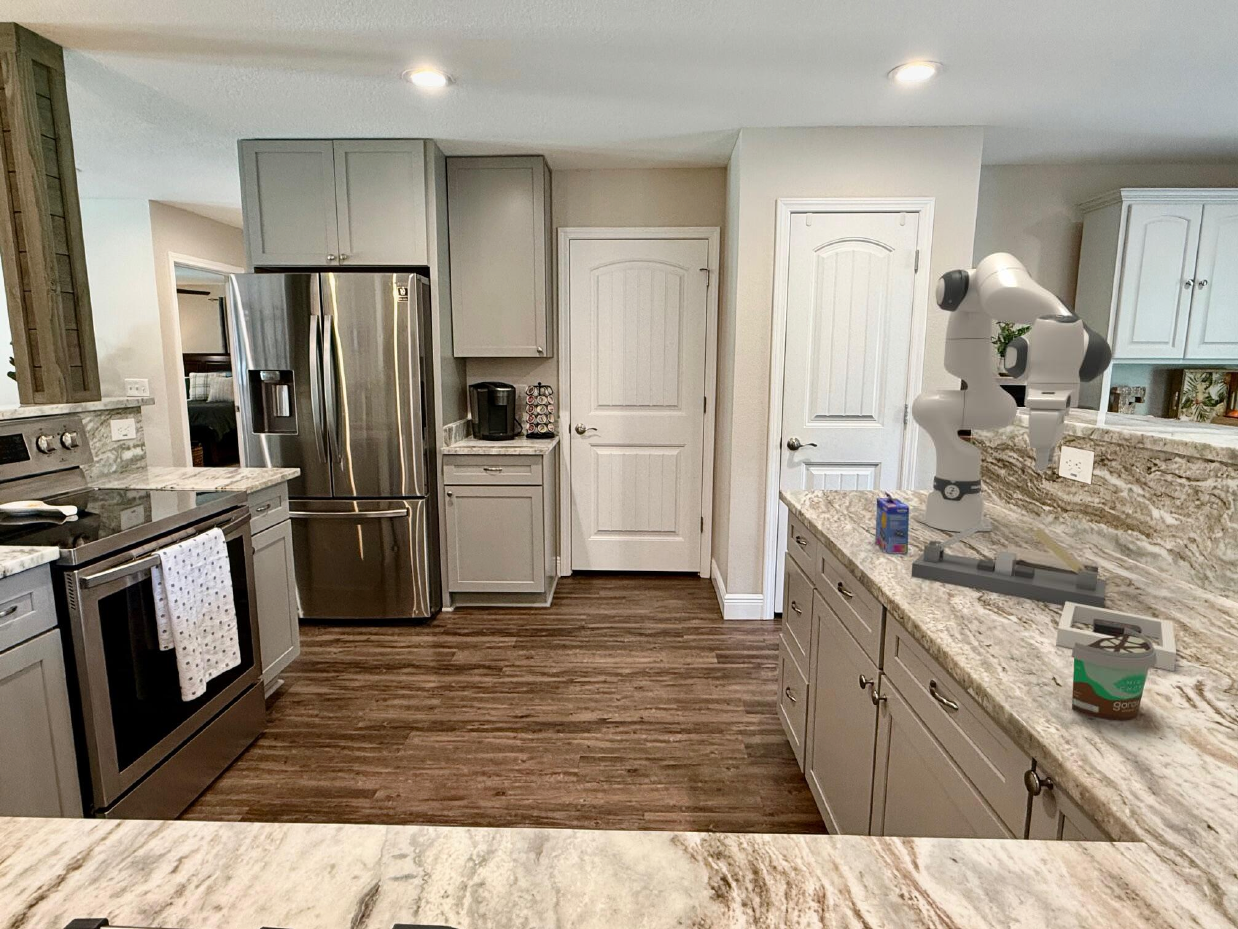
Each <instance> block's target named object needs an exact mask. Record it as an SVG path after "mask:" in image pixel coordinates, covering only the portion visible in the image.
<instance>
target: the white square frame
mask: <svg viewBox="0 0 1238 929" xmlns="http://www.w3.org/2000/svg"><path fill="white" fill-rule="evenodd" d="M1094 619H1101V620H1107V621H1113V622H1119V623H1125V624H1131V625H1137V626H1139V627H1140V628H1141V630H1142V633H1141V634H1142V635H1144V636H1145V637H1149V638H1154V639H1158V645H1155V644H1153V647H1154V648H1155V651H1156V658H1157V663H1156V665H1155V666H1153V667H1152V668H1157V669H1162V670H1167V671H1170V672H1174V671H1175V666H1176V665H1175V664H1176V658H1177V647H1176V641H1175V640H1176V639H1175V633H1174V623H1173V621H1172V620H1167V619H1162V618H1155V617H1150V616H1146V615H1140V614H1136V613H1135V614H1134V613H1130V612H1125V611H1119V610H1113V609H1108V608H1104V607H1103V608H1098V607H1093V606H1088V605H1082V604H1077V603H1072V602H1067V601H1066V602H1065V606H1064V605H1063V608H1062V614H1061V616H1060V620H1059V623H1058V626H1057V633H1056V646H1060V647H1064V648H1069V649H1073V647H1075V642H1077V643H1080V644H1082V645H1086V646H1087V645H1090V644H1092V643H1094V642H1096V641H1097V640H1100V639H1102V638H1113V636H1108V635H1104V634H1099V633H1094V632H1092V631H1090V630H1085V629H1079V628H1074V627H1073V624H1074V622H1076V623H1080V624H1086V625H1091V626H1093V620H1094Z"/></svg>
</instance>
